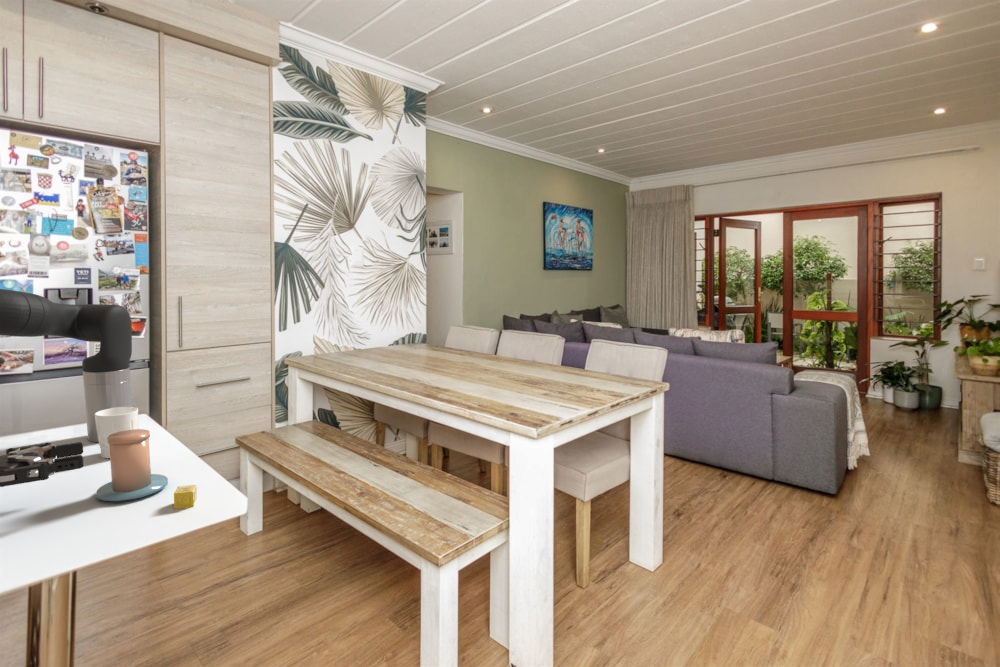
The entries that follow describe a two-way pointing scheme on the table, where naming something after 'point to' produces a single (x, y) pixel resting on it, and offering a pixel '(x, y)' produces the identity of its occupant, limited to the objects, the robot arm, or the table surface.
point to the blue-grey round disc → (110, 495)
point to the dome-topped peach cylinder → (130, 460)
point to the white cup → (114, 424)
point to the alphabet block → (185, 496)
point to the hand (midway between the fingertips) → (83, 454)
